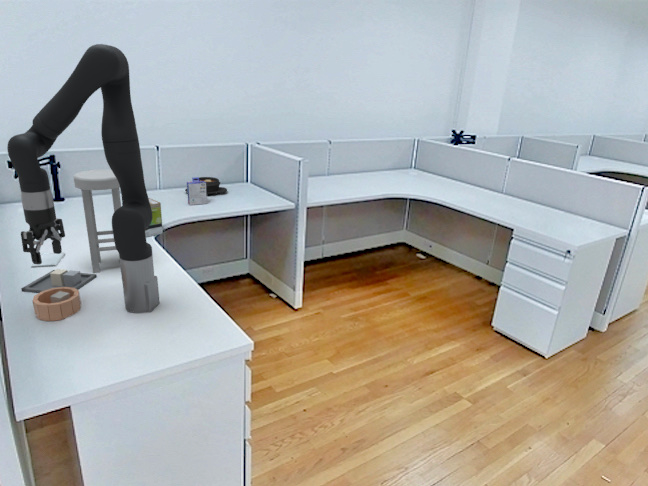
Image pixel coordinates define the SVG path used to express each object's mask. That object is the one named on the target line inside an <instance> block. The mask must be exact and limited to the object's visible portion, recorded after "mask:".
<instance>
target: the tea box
mask: <svg viewBox="0 0 648 486" xmlns="http://www.w3.org/2000/svg"><path fill="white" fill-rule="evenodd" d="M148 198H149V202H150V206H151V209H152V215H153V218H152V222H151V224H150V226H149V227H148V228H147V229H145V235H146V238H147V237H152V236H158V235H162V234H163V216H162V205H161V204H162V203H161V202H160V201H158V200H155V199H153V198H150V197H148Z"/></svg>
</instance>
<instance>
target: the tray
mask: <svg viewBox="0 0 648 486" xmlns="http://www.w3.org/2000/svg"><path fill="white" fill-rule="evenodd" d="M55 270H56V269H52V270H51V271H49V272H47V273H46V274H44V275H42V276H40V277H39V278H37V279H35V280H33V281H32V282H29V283H28V284H26V285H25V286H23V287H21V288H20V289H21V292H24V293H25V292H26V293H33V294H38V293H40V292H42V291H45V290H48V289H51V288H57V287H61V286H52V281H51V276H50V273H51V272H53V271H55ZM80 274H81V281H82V282H80V283H79V284H77V285H76V286H74V287H73V288H75V289H77V290H80V289H82V288H83V287H85V286H86V285H87V284H89V283H90V282H92V281H93V280H95V279H96V278H97V277H98V275H97V274H98V273H88V272H80ZM62 287H65V285H64V286H62Z"/></svg>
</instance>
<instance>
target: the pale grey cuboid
mask: <svg viewBox="0 0 648 486" xmlns="http://www.w3.org/2000/svg"><path fill="white" fill-rule="evenodd" d="M50 298H51V303H57V302H62V301H65V300H68V299H69V298H70V293H67V292H62V291H59V292H57V293H55V294H53V295H51V296H50Z"/></svg>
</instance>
